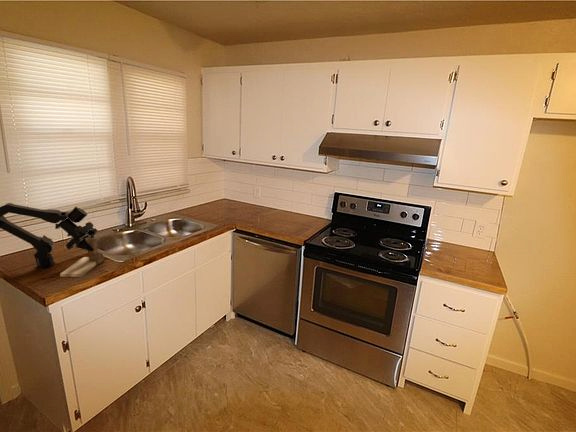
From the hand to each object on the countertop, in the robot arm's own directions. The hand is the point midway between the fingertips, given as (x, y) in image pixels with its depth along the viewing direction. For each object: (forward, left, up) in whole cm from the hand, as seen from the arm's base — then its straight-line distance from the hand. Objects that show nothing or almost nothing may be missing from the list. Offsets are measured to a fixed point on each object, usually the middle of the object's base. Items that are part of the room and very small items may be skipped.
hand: (95, 249), depth 167 cm
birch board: (-4, -6, -8) cm, 11 cm away
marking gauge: (-1, 0, -8) cm, 8 cm away
